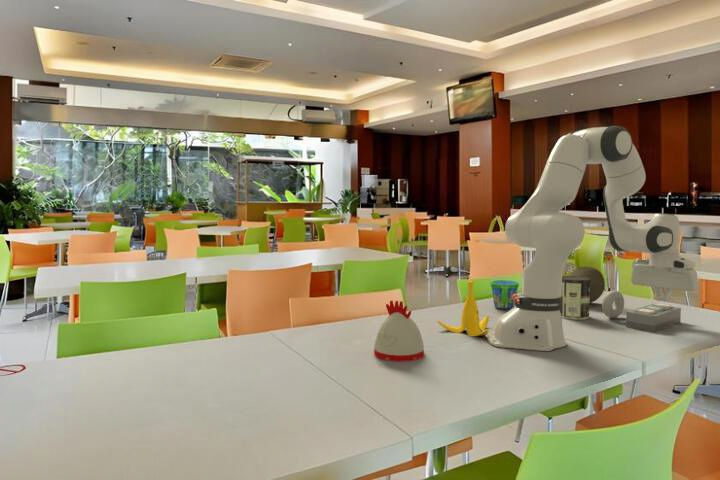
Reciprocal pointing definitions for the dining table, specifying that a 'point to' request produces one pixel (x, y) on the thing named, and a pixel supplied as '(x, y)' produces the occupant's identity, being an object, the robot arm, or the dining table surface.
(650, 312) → the key near
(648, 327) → the keypad
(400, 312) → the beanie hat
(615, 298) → the donut
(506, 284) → the snack cup
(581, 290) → the coffee can
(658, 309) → the key mid
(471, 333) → the banana peel
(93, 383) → the dining table surface
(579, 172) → the robot arm
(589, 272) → the coconut
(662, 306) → the key far
